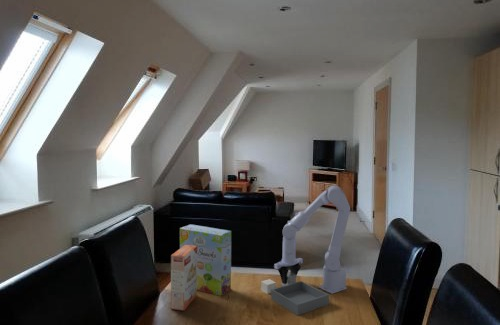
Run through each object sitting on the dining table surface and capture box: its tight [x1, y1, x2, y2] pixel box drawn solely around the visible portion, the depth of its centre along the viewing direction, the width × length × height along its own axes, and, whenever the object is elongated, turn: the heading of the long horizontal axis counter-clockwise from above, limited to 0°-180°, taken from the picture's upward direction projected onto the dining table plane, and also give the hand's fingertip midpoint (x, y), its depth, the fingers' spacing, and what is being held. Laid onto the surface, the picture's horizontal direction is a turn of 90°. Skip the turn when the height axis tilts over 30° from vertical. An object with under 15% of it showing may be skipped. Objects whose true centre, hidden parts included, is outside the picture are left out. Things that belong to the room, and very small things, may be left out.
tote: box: [270, 280, 330, 316], centre depth 147 cm, size 16×16×4 cm
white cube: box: [260, 278, 277, 295], centre depth 157 cm, size 4×4×4 cm
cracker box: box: [170, 245, 198, 311], centre depth 144 cm, size 14×6×21 cm, turn 168°
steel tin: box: [280, 271, 297, 286], centre depth 163 cm, size 4×4×5 cm
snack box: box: [179, 224, 232, 297], centre depth 158 cm, size 22×9×26 cm, turn 62°
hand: (288, 282), depth 163 cm, fingers closed on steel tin, 4 cm apart
